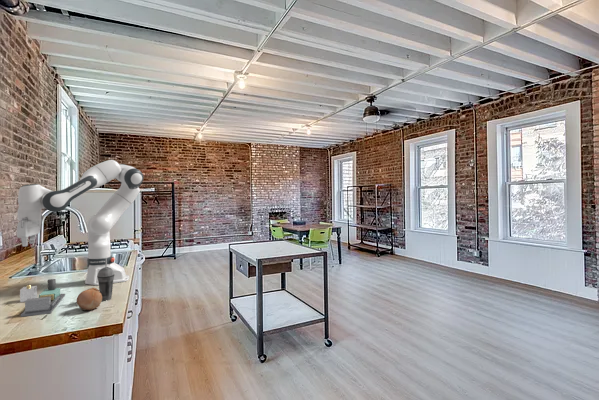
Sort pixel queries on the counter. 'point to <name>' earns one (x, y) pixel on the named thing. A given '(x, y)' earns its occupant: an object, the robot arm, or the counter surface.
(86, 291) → the onion
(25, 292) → the housing
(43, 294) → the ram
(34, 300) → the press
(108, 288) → the beverage cup
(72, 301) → the counter surface
